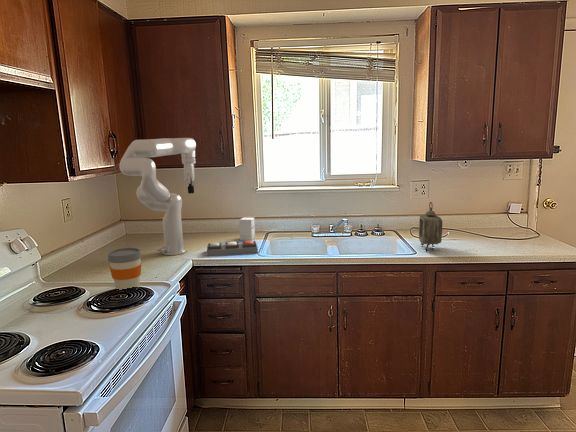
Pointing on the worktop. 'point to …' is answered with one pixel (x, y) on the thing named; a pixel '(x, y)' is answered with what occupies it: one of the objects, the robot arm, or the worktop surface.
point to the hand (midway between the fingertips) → (191, 193)
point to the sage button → (214, 244)
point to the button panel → (232, 249)
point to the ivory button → (232, 243)
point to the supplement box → (247, 229)
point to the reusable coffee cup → (125, 267)
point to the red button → (249, 242)
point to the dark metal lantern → (430, 228)
